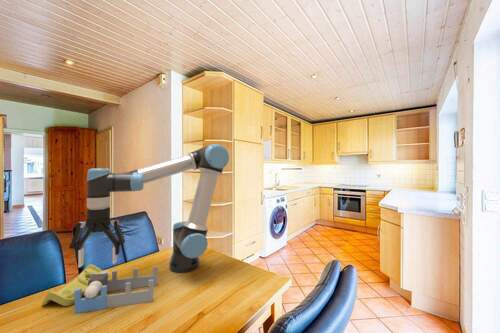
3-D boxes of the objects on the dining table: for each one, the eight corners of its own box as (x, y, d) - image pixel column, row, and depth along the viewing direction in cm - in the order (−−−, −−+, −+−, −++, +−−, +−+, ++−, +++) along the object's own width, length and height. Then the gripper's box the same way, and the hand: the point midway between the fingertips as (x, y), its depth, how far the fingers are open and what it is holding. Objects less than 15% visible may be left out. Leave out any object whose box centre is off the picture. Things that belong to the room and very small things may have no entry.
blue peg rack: (157, 284, 97) (157, 266, 97) (152, 301, 84) (152, 281, 84) (90, 292, 90) (91, 273, 90) (74, 313, 77) (74, 290, 77)
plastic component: (71, 301, 81) (46, 289, 80) (63, 318, 81) (39, 306, 81) (107, 272, 100) (87, 262, 100) (101, 285, 101) (81, 276, 101)
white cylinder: (98, 280, 92) (99, 268, 92) (112, 278, 94) (112, 267, 94) (80, 302, 77) (81, 288, 77) (96, 300, 78) (97, 286, 78)
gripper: (133, 204, 92) (133, 257, 92) (68, 207, 86) (68, 263, 86) (129, 208, 85) (128, 264, 85) (57, 211, 79) (56, 272, 79)
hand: (98, 264), depth 85 cm, fingers open, 11 cm apart
